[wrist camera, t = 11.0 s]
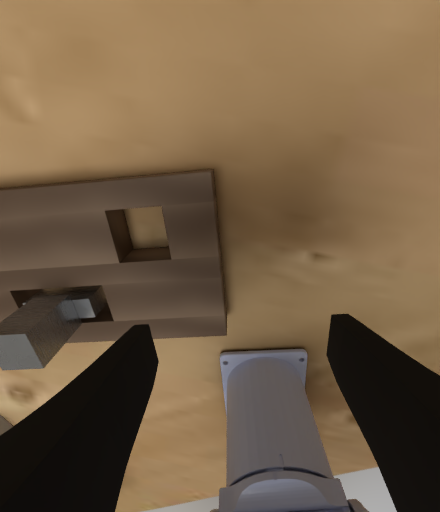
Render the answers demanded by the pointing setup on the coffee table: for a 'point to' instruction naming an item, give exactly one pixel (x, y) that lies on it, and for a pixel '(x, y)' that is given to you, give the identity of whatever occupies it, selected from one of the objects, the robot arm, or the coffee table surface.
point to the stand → (118, 253)
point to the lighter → (4, 425)
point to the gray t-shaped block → (46, 325)
